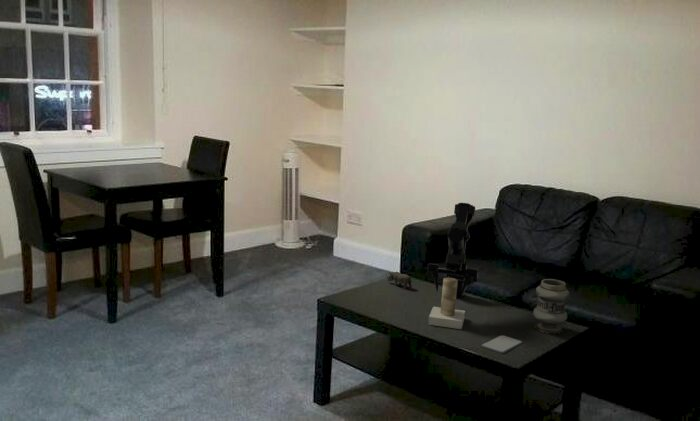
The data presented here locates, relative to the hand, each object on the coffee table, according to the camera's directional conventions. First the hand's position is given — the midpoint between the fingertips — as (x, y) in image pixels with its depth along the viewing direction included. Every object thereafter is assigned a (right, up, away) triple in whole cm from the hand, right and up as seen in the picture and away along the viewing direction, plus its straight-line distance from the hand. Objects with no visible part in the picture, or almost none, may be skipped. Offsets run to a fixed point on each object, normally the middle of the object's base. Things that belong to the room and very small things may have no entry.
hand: (449, 292), depth 247 cm
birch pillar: (-1, -8, +1) cm, 8 cm away
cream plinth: (-1, -11, +1) cm, 11 cm away
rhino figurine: (-16, -2, +42) cm, 45 cm away
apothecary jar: (+36, -13, 0) cm, 39 cm away
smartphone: (+15, -16, -18) cm, 28 cm away
